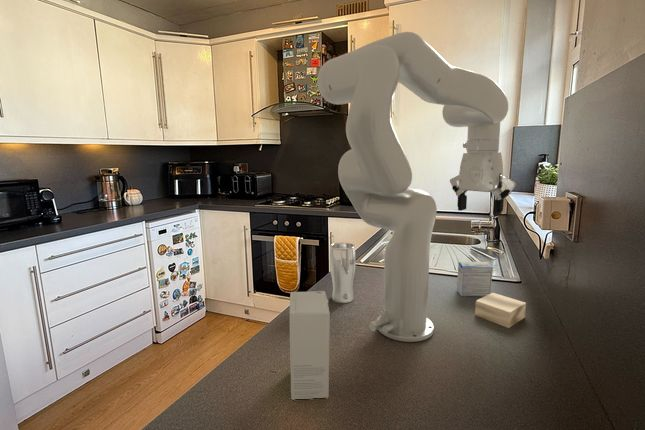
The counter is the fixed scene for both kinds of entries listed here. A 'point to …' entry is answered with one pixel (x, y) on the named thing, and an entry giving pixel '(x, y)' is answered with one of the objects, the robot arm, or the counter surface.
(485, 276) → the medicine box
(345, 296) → the beer glass
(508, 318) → the oak block
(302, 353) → the skincare box
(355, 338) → the counter surface
